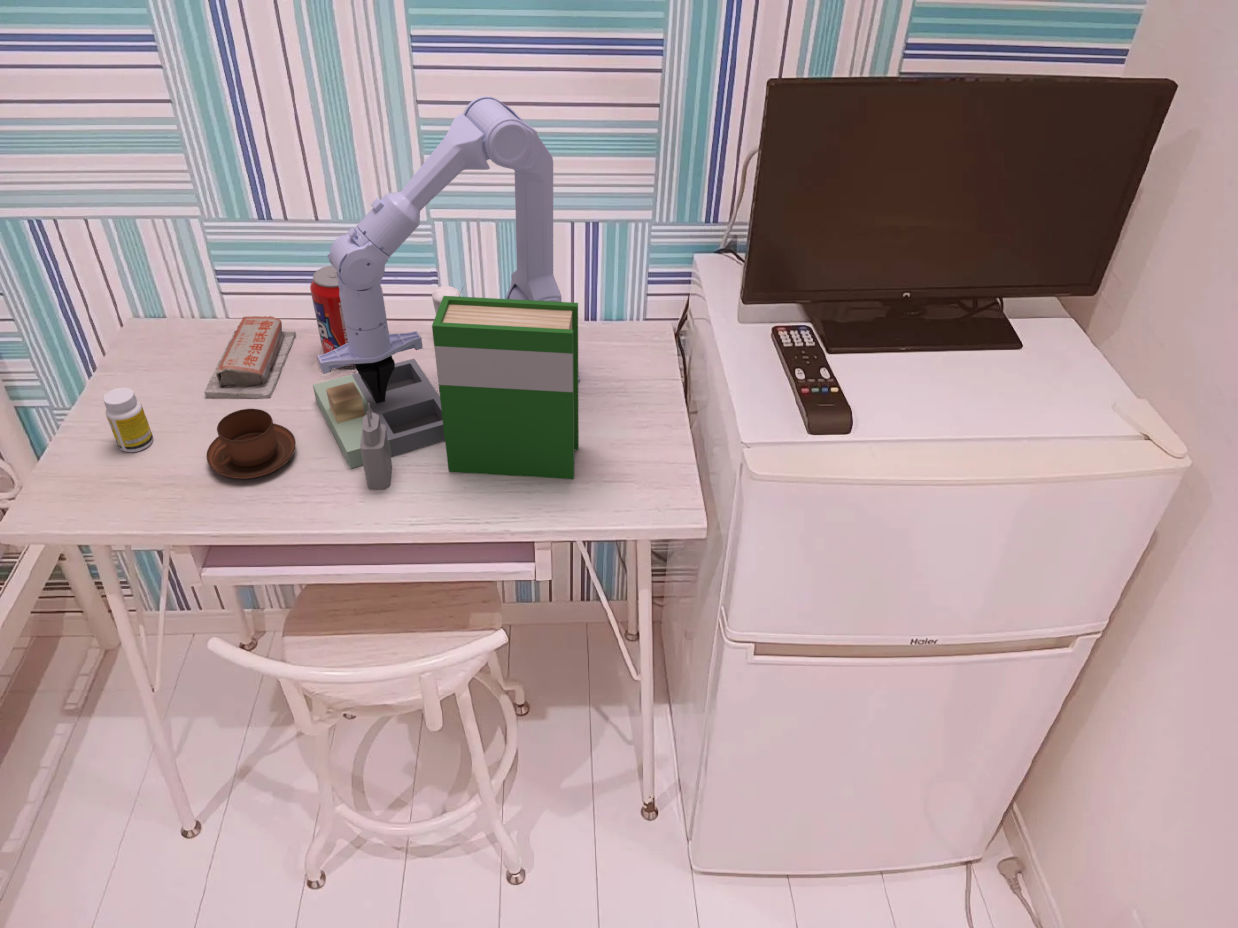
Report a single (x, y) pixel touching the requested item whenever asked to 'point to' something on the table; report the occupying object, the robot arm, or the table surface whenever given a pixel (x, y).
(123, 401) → the supplement bottle
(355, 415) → the maple block
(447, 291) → the milkshake
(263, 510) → the table surface
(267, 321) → the packaged product
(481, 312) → the hardback book
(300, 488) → the table surface
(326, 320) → the soda can
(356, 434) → the box
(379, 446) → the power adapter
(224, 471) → the cup and saucer
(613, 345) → the table surface
